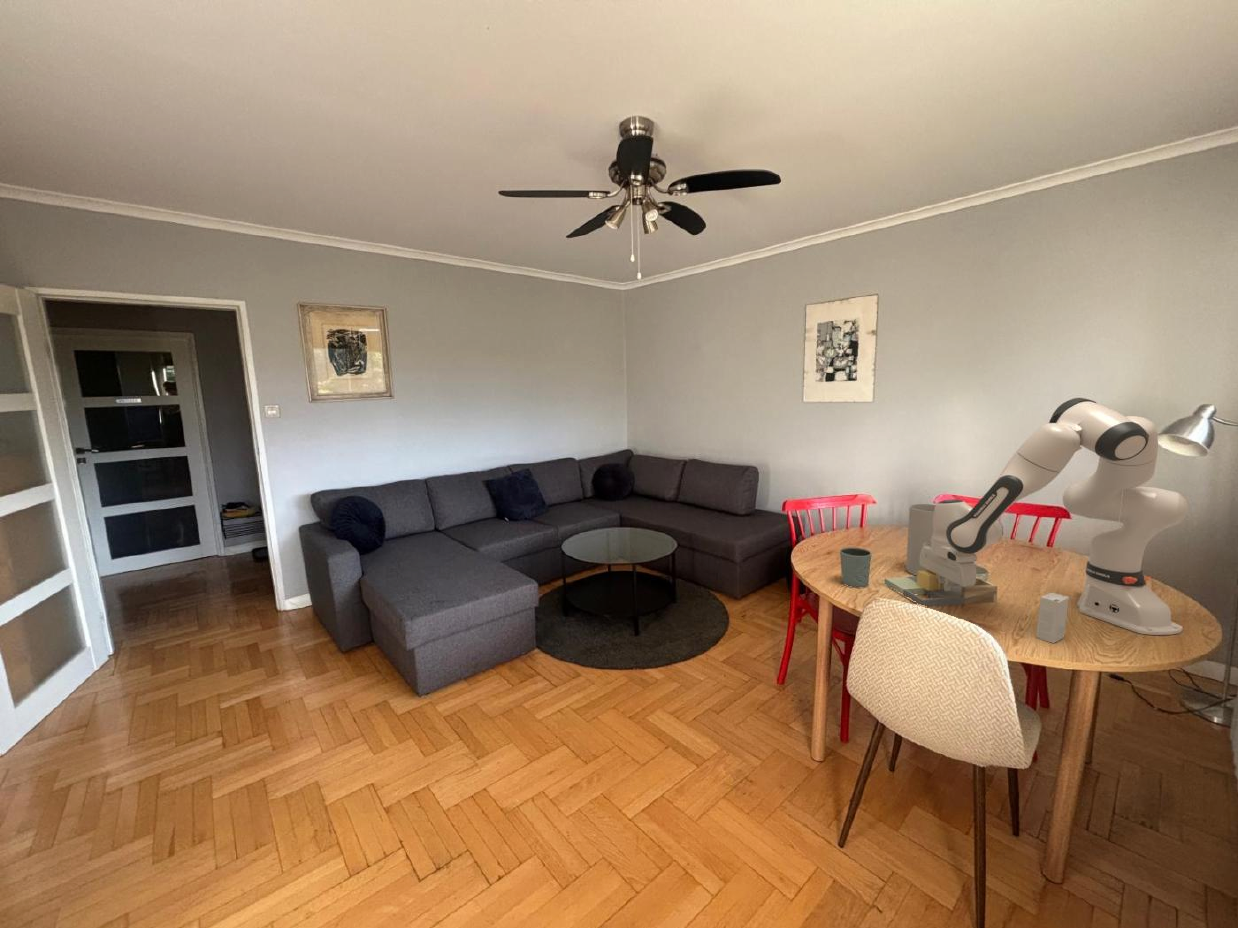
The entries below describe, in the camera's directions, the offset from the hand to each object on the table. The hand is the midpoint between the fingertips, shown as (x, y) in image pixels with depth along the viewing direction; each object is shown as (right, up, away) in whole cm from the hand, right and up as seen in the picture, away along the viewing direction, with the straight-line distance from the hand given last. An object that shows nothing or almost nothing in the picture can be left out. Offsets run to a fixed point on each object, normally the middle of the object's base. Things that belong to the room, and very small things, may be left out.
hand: (944, 589), depth 161 cm
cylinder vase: (+9, 0, +24) cm, 25 cm away
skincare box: (+12, -7, -25) cm, 29 cm away
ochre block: (-2, -1, +5) cm, 5 cm away
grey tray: (+2, -3, +6) cm, 7 cm away
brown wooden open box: (+9, -3, +2) cm, 10 cm away
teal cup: (-22, -2, +16) cm, 27 cm away
